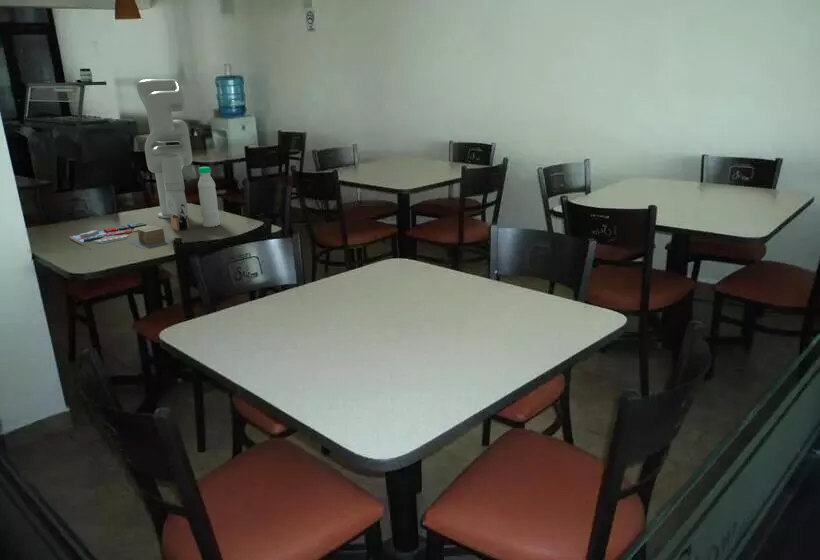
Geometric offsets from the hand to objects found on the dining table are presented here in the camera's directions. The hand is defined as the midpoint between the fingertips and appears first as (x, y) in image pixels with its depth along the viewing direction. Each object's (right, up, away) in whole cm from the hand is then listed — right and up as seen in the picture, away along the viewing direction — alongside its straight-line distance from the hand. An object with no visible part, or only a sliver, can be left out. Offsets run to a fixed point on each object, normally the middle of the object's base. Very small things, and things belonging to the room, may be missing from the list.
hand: (180, 229), depth 257 cm
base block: (-4, -6, -19) cm, 20 cm away
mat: (-4, -7, -19) cm, 20 cm away
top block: (0, 0, 0) cm, 1 cm away
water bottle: (+10, +2, +8) cm, 13 cm away
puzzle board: (-22, -4, -6) cm, 24 cm away
